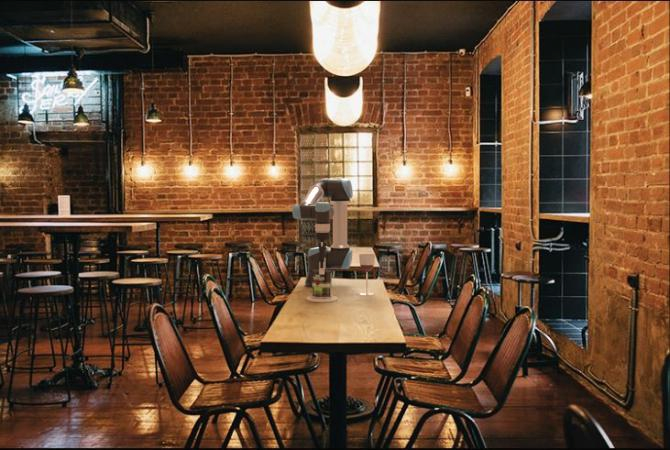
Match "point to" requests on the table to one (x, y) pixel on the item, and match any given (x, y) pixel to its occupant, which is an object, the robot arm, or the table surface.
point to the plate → (322, 299)
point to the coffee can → (322, 284)
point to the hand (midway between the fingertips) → (322, 272)
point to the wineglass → (367, 267)
